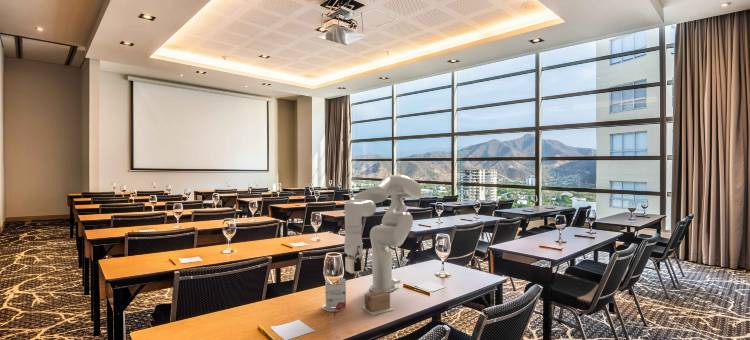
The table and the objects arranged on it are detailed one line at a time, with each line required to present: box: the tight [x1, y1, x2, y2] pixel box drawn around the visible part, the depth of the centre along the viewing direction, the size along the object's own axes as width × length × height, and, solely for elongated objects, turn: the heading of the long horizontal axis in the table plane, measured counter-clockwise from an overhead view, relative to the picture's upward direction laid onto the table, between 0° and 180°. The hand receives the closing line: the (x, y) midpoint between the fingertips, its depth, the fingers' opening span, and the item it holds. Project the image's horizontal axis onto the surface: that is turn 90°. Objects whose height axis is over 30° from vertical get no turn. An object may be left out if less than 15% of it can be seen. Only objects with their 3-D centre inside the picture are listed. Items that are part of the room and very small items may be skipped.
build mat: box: [361, 305, 394, 316], centre depth 170 cm, size 10×10×1 cm
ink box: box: [324, 278, 347, 309], centre depth 174 cm, size 8×5×12 cm, turn 89°
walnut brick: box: [364, 290, 391, 312], centre depth 170 cm, size 6×9×6 cm, turn 121°
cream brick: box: [344, 256, 364, 274], centre depth 178 cm, size 6×6×6 cm
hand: (354, 268), depth 178 cm, fingers closed on cream brick, 6 cm apart
